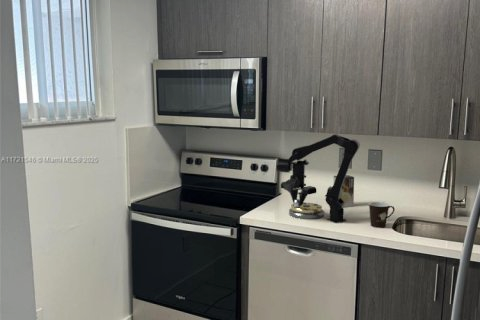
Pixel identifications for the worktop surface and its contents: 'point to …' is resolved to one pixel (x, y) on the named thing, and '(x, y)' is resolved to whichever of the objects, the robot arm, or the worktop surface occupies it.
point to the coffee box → (347, 191)
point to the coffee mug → (379, 214)
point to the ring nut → (306, 207)
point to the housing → (306, 215)
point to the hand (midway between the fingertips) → (297, 204)
